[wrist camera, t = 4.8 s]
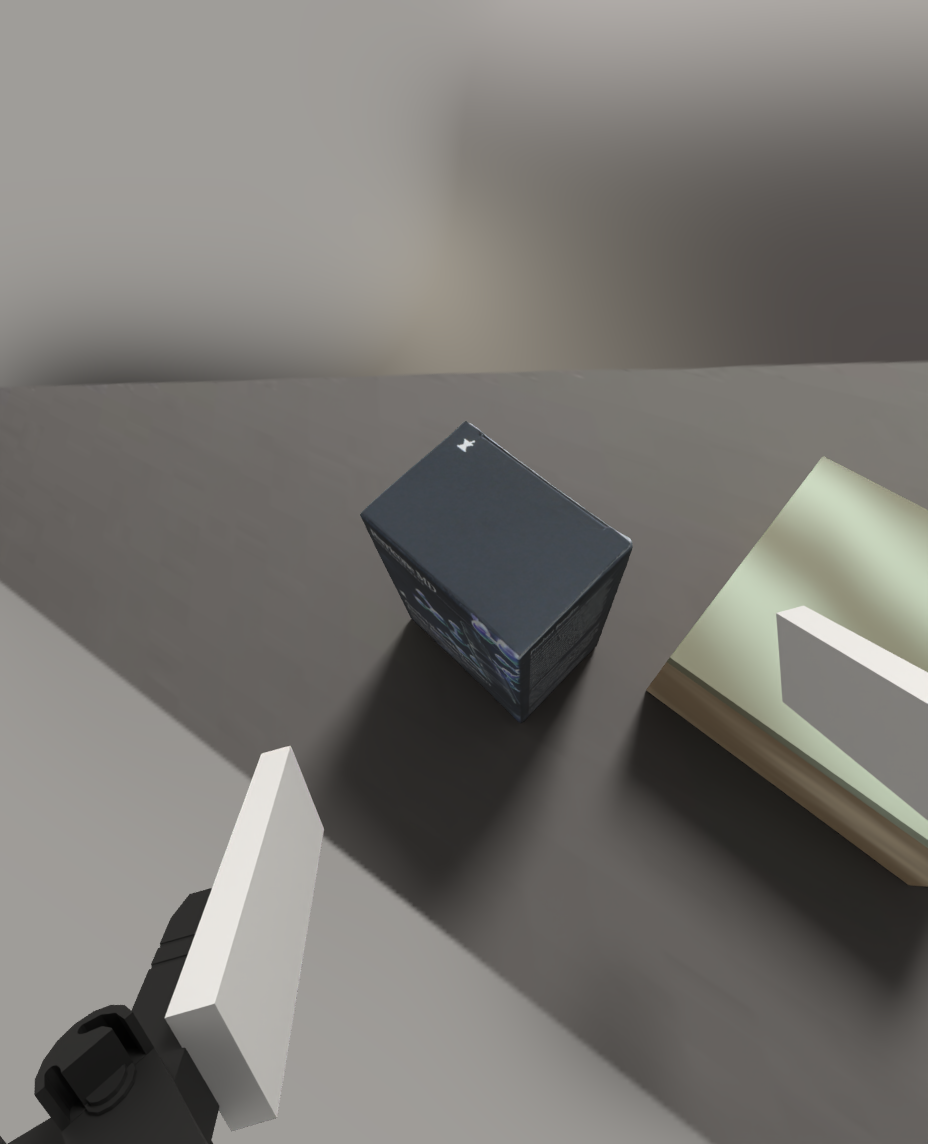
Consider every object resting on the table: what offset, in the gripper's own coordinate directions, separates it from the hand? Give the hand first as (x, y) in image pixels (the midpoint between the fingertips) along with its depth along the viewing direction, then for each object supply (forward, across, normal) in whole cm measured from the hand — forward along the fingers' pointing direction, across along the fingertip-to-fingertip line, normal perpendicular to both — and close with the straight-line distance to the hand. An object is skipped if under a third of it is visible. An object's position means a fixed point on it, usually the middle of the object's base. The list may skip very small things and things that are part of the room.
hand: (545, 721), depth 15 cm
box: (+14, 0, +4) cm, 14 cm away
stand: (+9, -14, +8) cm, 19 cm away
